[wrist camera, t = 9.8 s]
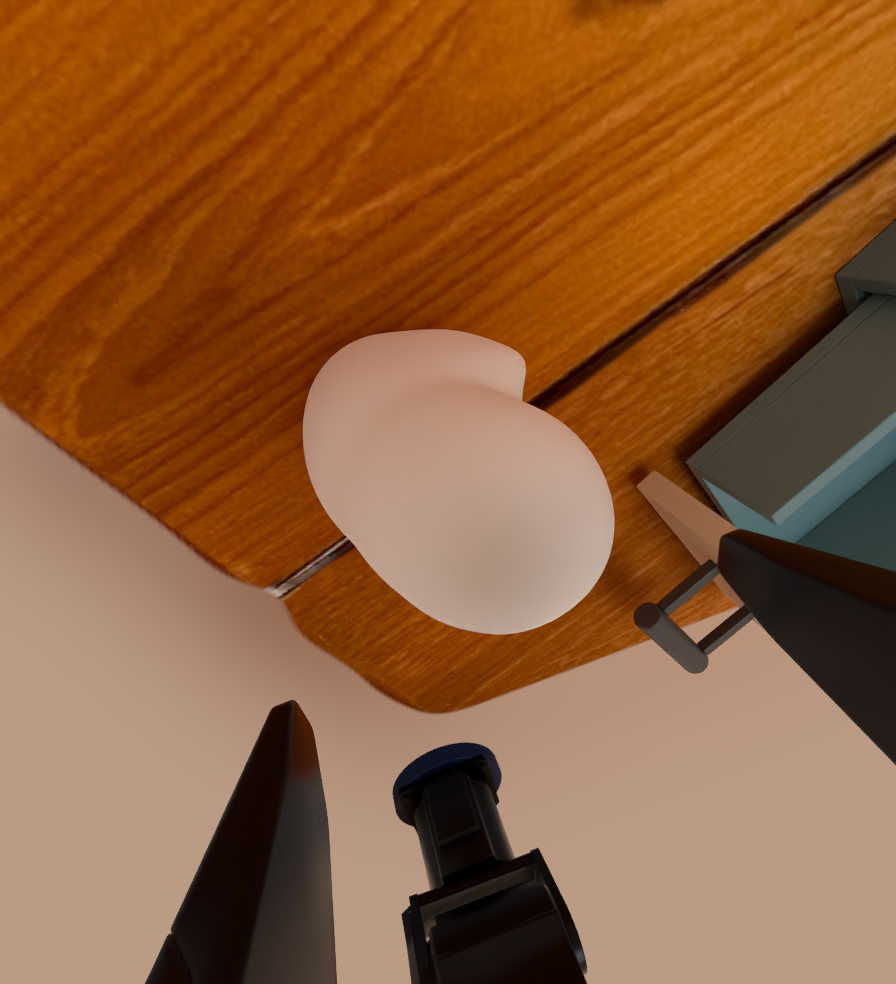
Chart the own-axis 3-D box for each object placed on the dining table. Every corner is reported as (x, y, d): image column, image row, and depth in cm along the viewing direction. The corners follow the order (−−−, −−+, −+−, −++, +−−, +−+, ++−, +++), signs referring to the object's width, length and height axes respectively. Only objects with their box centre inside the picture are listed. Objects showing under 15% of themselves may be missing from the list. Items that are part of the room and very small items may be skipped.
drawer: (667, 644, 32) (735, 721, 28) (565, 549, 26) (630, 628, 21) (937, 420, 29) (1067, 462, 24) (899, 248, 23) (1066, 259, 18)
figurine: (485, 468, 23) (641, 666, 13) (318, 499, 22) (351, 752, 12) (482, 307, 20) (692, 411, 10) (281, 330, 18) (282, 483, 8)
